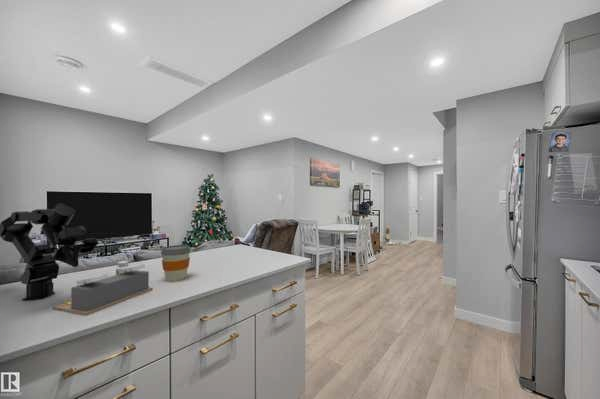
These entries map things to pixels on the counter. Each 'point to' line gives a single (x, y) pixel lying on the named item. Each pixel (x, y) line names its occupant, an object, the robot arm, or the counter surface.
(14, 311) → the counter surface
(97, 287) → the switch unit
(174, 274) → the reusable coffee cup
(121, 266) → the supplement bottle
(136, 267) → the rocker
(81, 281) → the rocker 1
